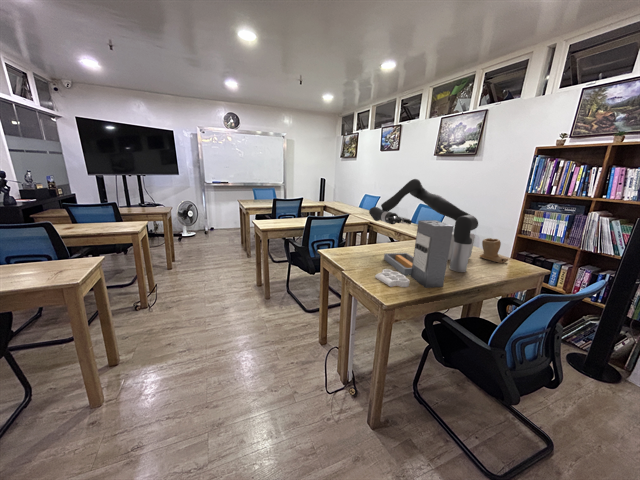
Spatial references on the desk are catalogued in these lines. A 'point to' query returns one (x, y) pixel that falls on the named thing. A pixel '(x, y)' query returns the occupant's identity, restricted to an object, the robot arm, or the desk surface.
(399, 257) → the orange block
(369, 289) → the desk surface
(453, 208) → the robot arm
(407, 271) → the tray
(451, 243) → the grey angular piece
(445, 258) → the cabinet
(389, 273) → the white brass knuckles
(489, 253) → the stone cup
